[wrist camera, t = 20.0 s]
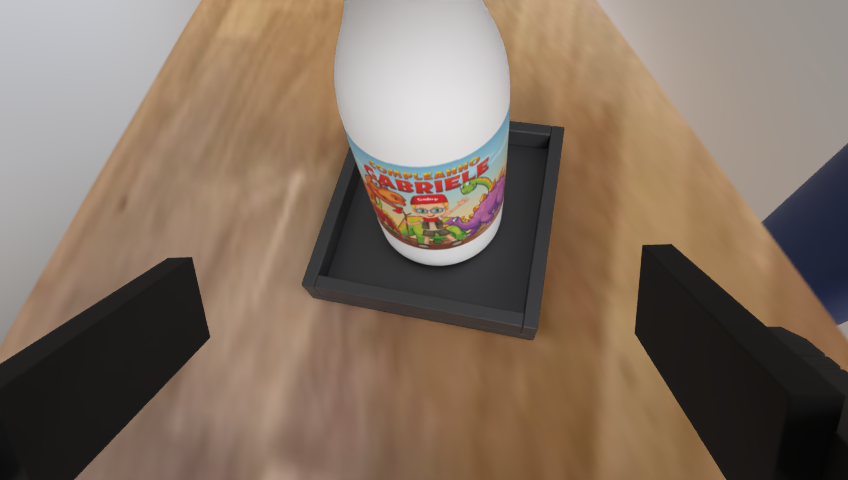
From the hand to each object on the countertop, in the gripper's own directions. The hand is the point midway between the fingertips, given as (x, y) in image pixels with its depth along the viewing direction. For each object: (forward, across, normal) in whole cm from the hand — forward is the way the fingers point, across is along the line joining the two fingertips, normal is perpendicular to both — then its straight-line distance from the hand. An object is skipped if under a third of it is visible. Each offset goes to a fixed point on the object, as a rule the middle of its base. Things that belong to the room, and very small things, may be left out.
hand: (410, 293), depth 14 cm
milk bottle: (+17, 0, -3) cm, 18 cm away
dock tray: (+18, 0, -3) cm, 18 cm away
